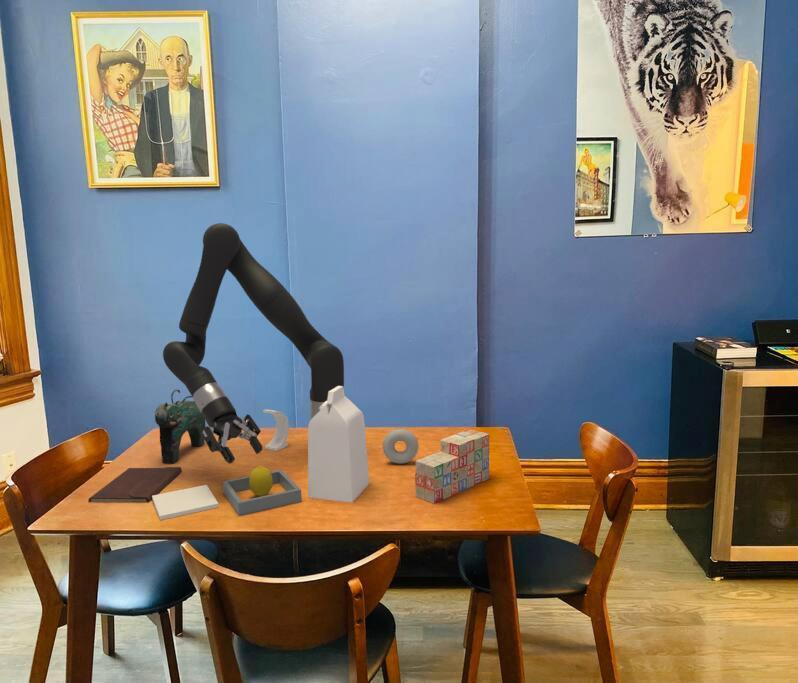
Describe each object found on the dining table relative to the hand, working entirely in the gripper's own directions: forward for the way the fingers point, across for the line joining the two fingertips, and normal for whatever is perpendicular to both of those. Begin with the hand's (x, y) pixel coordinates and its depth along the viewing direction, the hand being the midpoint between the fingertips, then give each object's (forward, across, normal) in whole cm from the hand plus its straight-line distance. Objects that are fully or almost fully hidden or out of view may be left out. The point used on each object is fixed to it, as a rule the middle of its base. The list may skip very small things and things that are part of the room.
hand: (246, 456), depth 151 cm
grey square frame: (+10, 0, +3) cm, 10 cm away
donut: (+21, +37, -7) cm, 43 cm away
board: (+1, -13, +12) cm, 18 cm away
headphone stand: (-7, +28, +21) cm, 36 cm away
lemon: (+10, 0, +3) cm, 11 cm away
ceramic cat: (-21, +8, +34) cm, 41 cm away
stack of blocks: (+35, +31, -22) cm, 52 cm away
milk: (+19, +14, -6) cm, 24 cm away
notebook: (-12, -13, +26) cm, 32 cm away
